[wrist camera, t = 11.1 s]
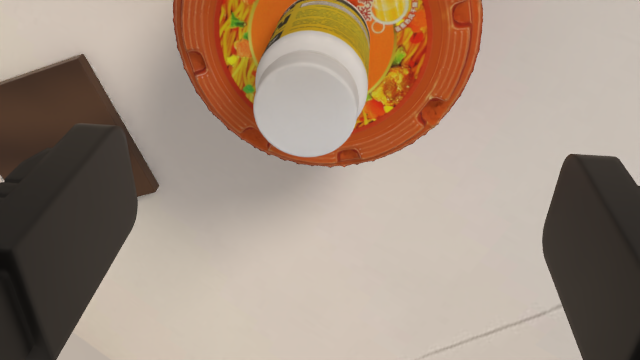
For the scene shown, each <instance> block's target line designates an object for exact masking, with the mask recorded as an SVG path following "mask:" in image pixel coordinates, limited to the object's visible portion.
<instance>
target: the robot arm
mask: <svg viewBox="0 0 640 360" xmlns="http://www.w3.org/2000/svg"><path fill="white" fill-rule="evenodd" d="M137 206H138V201H137V192H136V187H135V182H134V176H133V171H132V165H131V160H130V155H129V149H128V144H127V139H126V135H125V132H124V131H123V129H122V128H121V127H120V126H117V125H100V124H84V123H78V124H75V125H74V126H73V127H72V128H71V129H70V130H69V131H68V132H67V133H66V134H65V135H64V136H63V137H62V138H61V140H60V141H59V142H58V143H57V144H56V145H55V146H54V147H53V148H46V149H44V150H42V151H41V152H39V153H37V154H35V155H33V156H31V157H30V158H28V159H26V160H24V161H22V162H21V163H20V164H19V165H18V166H17V167H16V168H15V169H14V170H13V171H12V172H11V173H10V174H9V175H8V176H7V177H6V178H5V182H1V183H0V360H56V359H57V357H58V356H59V354H60V352H61V350H62V349H63V347H64V345H65V343H66V342H67V340H68V338H69V337H70V335H71V333H72V331H73V330H74V328H75V326H76V325H77V323H78V321H79V319H80V318H81V316H82V314H83V312H84V311H85V309H86V307H87V306H88V304H89V302H90V300H91V299H92V297H93V295H94V294H95V292H96V290H97V288H98V287H99V285H100V283H101V281H102V280H103V278H104V276H105V275H106V273H107V271H108V269H109V268H110V266H111V264H112V263H113V261H114V259H115V257H116V256H117V254H118V252H119V250H120V249H121V247H122V245H123V244H124V242H125V240H126V238H127V237H128V235H129V233H130V232H131V230H132V228H133V226H134V223H135V220H136V215H137ZM542 244H543V253H544V258H545V261H546V263H547V266H548V269H549V271H550V274H551V276H552V279H553V282H554V284H555V287H556V290H557V292H558V295H559V298H560V300H561V303H562V306H563V308H564V311H565V313H566V316H567V319H568V321H569V324H570V327H571V329H572V332H573V335H574V337H575V340H576V342H577V345H578V348H579V350H580V353H581V356H582V358H583V360H640V186H638V185H637V184H636V183H635V181H634V180H633V178H632V177H631V175H630V174H629V173H628V171H627V170H626V168H625V167H624V165H623V164H622V163H621V161H620V160H619V159H618V158H617V157H614V156H597V155H580V154H570V155H568V156H567V157H566V159H565V161H564V163H563V165H562V168H561V171H560V174H559V178H558V181H557V184H556V188H555V191H554V194H553V197H552V201H551V204H550V207H549V211H548V214H547V217H546V220H545V224H544V229H543V238H542Z"/></svg>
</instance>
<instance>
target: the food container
mask: <svg viewBox="0 0 640 360" xmlns="http://www.w3.org/2000/svg"><path fill="white" fill-rule="evenodd" d="M296 1H297V0H174V2H173V15H174V18H173V22H174V30H175V34H176V41H177V48H178V50H179V53H180V55H181V58H182V61H183V65H184V69H185V70H186V72H187V74H188V76H189V78H190V80H191V83H192V84H193V86H194V88H195V90H196V93H198V95H199V96H200V97H201V99H202V100H203V102H204V103H205V104H206V105H207V107H208V109H209V111H211V112H212V113H213V115H215V116H216V117H217V118H218V119H220V120H221V122H223V124H224V125H225V126H226V127H227V128H228V130H231V131H232V132H234V133H235V134H236V135H238V136H239V137H240V138H241V140H245V141H246V142H247V143H249V144H251V145H252V146H254V148H258V149H259V150H260V151H264V152H266V153H267V154H268V155H274V156H277V157H279V158H280V159H283V160H284V161H285V160H289V161H293V162H296V163H297V164H307V165H311V166H314V165H316V166H318V165H319V166H328V167H333V166H343V167H345V166H347V165H351V164H356V165H358V164H359V163H363V162H368V161H374V160H376V159H379V158H382V157H385V156H387V155H389V154H392V153H394V152H396V151H399V150H401V149H403V148H404V147H406V146H408V145H410V144H413V143H414V142H415V141H416V140H417V139H419V138H420V137H421V136H423V135H426V133H427V132H428V131H429V130H431V129H432V128H434V127H435V126H436V125H438V124H439V122H440V120H441V119H442V118H443V117H444V116H445V115H446V114H447V112H449V110H450V109H451V107H452V106H453V105H454V104H455V102H456V101H457V99H458V98H459V97H460V96H461V93H462V92H463V90H464V88H465V86H466V84H467V82H468V80H469V78H470V75H471V73H472V72H473V70H474V65H475V62H476V58H477V54H478V52H479V50H480V40H481V34H482V22H483V18H482V17H483V7H482V0H347V1H349V2H350V3H351V4H353V5H354V6H355V7H356V8H357V9H358V10H359V11H360V13H361V14H362V16H363V17H364V19H365V21H366V23H367V26H368V29H369V35H370V53H369V74H368V92H367V98H366V102H365V105H364V108H363V110H362V112H361V113H360V115H359V117H358V118H357V120H356V124H355V127H354V129H353V132H352V133H351V135H350V136H349V138H348V139H347V140H346V141H345V142H344V143H343V144H342V145H341V146H340V147H339V148H337V149H336V150H334V151H332V152H330V153H328V154H325V155H322V156H317V157H298V156H293V155H290V154H287V153H285V152H283V151H281V150H279V149H277V148H276V147H274V146H273V145H272V144H271V143H269V142H268V141H267V140H266V138H265V137H264V136H263V135H262V133H261V132H260V130H259V128H258V126H257V124H256V121H255V117H254V112H253V104H254V97H255V94H256V86H255V79H256V72H257V67H258V64H259V61H260V59H261V57H262V55H263V53H264V51H265V49H266V47H267V45H268V43H269V41H270V39H271V37H272V34H273V33H274V31H275V29H276V26H277V24H278V22H279V20H280V18H281V17H282V15H283V14H284V12H285V11H286V10H287V9H288V8H289V6H291V5H292V4H293V3H294V2H296Z"/></svg>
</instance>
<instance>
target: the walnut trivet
mask: <svg viewBox="0 0 640 360" xmlns="http://www.w3.org/2000/svg"><path fill="white" fill-rule="evenodd" d="M78 123H84V124H100V125H117V126H120V127H121V128H122V129H123V131H124V132H125V135H126V139H127V144H128V149H129V155H130V160H131V165H132V171H133V176H134V182H135V187H136V192H137V197H138V196H142V195H146V194H150V193H153V192H156V190H157V188H158V187H159V185H158V183H157V181H156V180H155V178H154V176H153V174H152V173H151V171H150V169H149V167H148V166H147V164H146V162H145V160H144V159H143V157H142V155H141V153H140V152H139V150H138V148H137V146H136V145H135V143H134V141H133V140H132V138H131V136H130V134H129V133H128V131H127V129H126V127H125V126H124V124H123V122H122V120H121V119H120V117H119V115H118V113H117V112H116V110H115V108H114V106H113V105H112V103H111V101H110V100H109V98H108V96H107V94H106V93H105V91H104V89H103V87H102V86H101V84H100V82H99V80H98V79H97V77H96V75H95V73H94V72H93V70H92V68H91V66H90V65H89V63H88V61H87V59H86V58H85V56H84V54H81V55H79V56H76V57H73V58H70V59H67V60H64V61H61V62H58V63H55V64H52V65H49V66H47V67H44V68H41V69H38V70H35V71H32V72H29V73H26V74H23V75H20V76H17V77H15V78H12V79H9V80H6V81H3V82H0V175H1V176H2V178H3V179H4V180H5V178H6V177H7V176H8V175H9V174H10V173H11V172H12V171H13V170H14V169H15V168H16V167H17V166H18V165H19V164H20V163H21V162H22V161H24V160H26V159H28V158H30V157H31V156H33V155H35V154H37V153H39V152H41V151H42V150H44V149H46V148H53V147H54V146H55V145H56V144H57V143H58V142H59V141H60V140H61V138H62V137H63V136H64V135H65V134H66V133H67V132H68V131H69V130H70V129H71V128H72V127H73V126H74V125H75V124H78Z"/></svg>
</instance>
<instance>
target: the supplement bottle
mask: <svg viewBox="0 0 640 360" xmlns="http://www.w3.org/2000/svg"><path fill="white" fill-rule="evenodd" d="M369 53H370V35H369V29H368V26H367V23H366V21H365V19H364V17H363V16H362V14H361V13H360V11H359V10H358V9H357V8H356V7H355V6H354V5H353V4H351V3H350V2H349V1H347V0H297V1H296V2H294V3H293V4H292V5H291V6H289V8H288V9H287V10H286V11H285V12H284V14H283V15H282V17H281V18H280V20H279V22H278V24H277V26H276V29H275V31H274V33H273V34H272V37H271V39H270V41H269V43H268V45H267V47H266V49H265V51H264V53H263V55H262V57H261V59H260V61H259V64H258V67H257V72H256V79H255V86H256V94H255V97H254V104H253V112H254V117H255V121H256V124H257V126H258V128H259V130H260V132H261V133H262V135H263V136H264V137H265V138H266V140H267V141H268V142H269V143H271V144H272V145H273V146H274V147H276V148H277V149H279V150H281V151H283V152H285V153H287V154H290V155H293V156H298V157H317V156H322V155H325V154H328V153H330V152H332V151H334V150H336V149H337V148H339V147H340V146H341V145H342V144H343V143H344V142H345V141H346V140H347V139H348V138H349V136H350V135H351V133H352V132H353V129H354V127H355V124H356V120H357V118H358V117H359V115H360V113H361V112H362V110H363V108H364V105H365V102H366V98H367V92H368V74H369Z"/></svg>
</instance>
